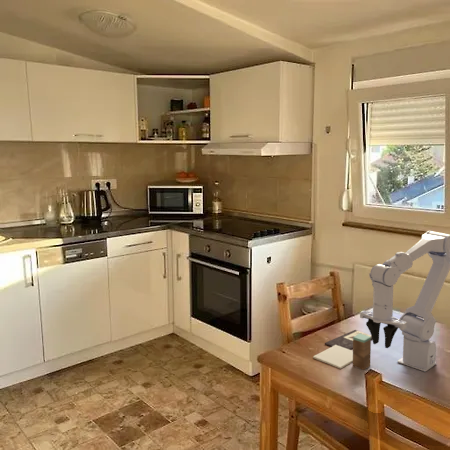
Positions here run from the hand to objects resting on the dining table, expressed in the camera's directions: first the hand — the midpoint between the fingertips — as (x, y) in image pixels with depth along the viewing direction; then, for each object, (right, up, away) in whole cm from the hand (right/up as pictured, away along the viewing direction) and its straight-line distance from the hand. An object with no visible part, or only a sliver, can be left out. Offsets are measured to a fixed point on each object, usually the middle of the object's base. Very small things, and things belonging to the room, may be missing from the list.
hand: (381, 345), depth 142 cm
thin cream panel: (-10, -8, +13) cm, 19 cm away
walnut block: (-4, -9, +7) cm, 12 cm away
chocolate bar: (-3, -6, +26) cm, 27 cm away
